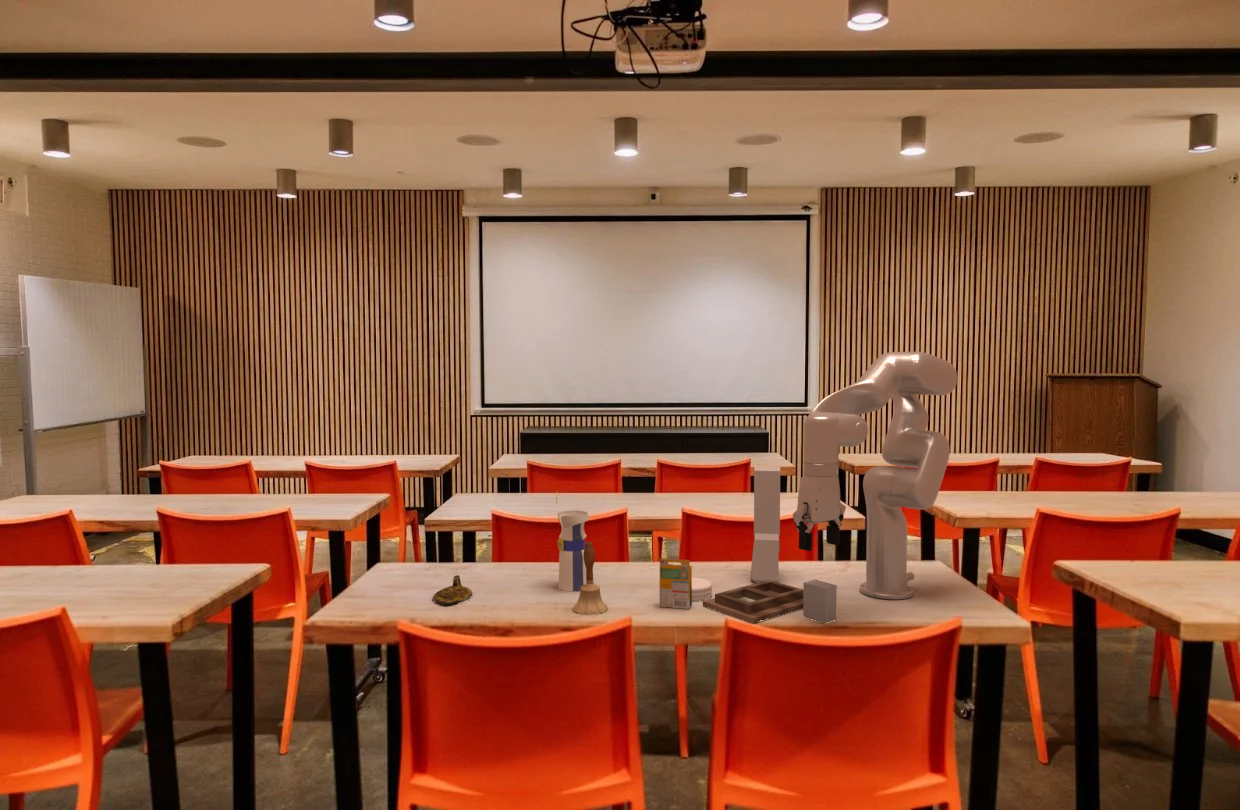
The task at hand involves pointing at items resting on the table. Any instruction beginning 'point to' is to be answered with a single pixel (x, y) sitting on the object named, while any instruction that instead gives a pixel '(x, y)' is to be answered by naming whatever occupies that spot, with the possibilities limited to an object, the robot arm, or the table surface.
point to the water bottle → (572, 550)
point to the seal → (453, 593)
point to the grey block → (819, 601)
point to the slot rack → (757, 601)
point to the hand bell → (589, 588)
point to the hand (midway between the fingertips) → (819, 546)
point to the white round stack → (701, 589)
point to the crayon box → (675, 584)
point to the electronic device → (766, 524)
